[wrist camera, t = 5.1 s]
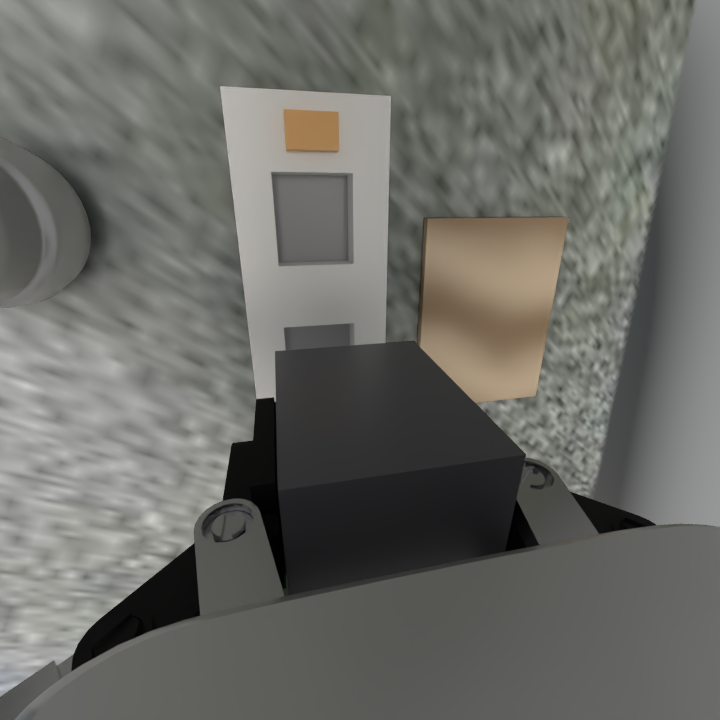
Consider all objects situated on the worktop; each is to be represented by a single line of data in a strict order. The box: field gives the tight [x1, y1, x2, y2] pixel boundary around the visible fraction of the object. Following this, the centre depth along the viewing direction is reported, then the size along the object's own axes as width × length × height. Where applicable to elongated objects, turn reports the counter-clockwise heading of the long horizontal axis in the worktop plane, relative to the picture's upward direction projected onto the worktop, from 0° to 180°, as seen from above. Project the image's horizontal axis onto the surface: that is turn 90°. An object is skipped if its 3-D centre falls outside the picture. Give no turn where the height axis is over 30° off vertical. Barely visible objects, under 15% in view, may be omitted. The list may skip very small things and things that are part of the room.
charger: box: [275, 341, 526, 595], centre depth 11 cm, size 6×4×7 cm
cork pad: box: [417, 217, 569, 403], centre depth 24 cm, size 12×9×1 cm
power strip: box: [220, 86, 391, 402], centre depth 20 cm, size 20×7×4 cm, turn 0°
